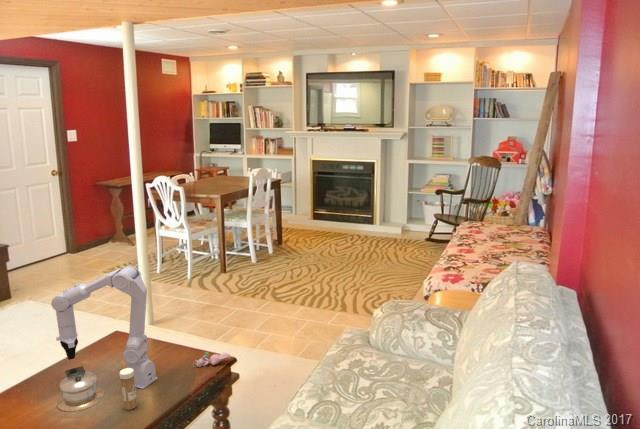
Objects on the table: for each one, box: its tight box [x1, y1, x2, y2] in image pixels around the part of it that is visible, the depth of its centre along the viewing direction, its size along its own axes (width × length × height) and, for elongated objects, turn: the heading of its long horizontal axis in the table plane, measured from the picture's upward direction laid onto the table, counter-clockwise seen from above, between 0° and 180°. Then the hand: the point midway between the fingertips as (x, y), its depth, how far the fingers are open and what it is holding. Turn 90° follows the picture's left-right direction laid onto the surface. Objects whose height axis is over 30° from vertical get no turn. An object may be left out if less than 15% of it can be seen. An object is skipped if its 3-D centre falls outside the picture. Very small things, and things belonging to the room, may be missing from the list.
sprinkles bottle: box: [119, 367, 138, 411], centre depth 172 cm, size 5×5×13 cm
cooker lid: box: [59, 365, 97, 393], centre depth 178 cm, size 15×12×2 cm
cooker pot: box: [56, 384, 105, 413], centre depth 178 cm, size 15×15×6 cm
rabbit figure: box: [192, 351, 232, 369], centre depth 200 cm, size 6×6×15 cm
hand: (71, 358), depth 187 cm, fingers closed
